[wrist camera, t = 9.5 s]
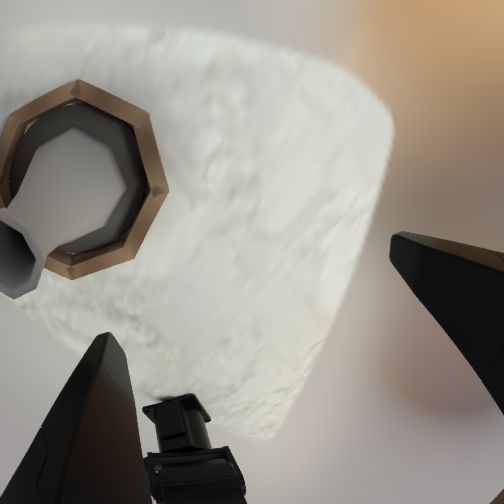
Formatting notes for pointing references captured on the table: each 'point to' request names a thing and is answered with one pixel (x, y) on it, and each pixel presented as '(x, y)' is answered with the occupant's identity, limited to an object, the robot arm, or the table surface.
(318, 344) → the table surface
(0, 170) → the brown octagonal tray
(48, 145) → the flask
